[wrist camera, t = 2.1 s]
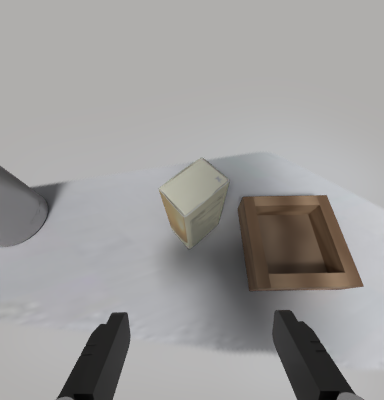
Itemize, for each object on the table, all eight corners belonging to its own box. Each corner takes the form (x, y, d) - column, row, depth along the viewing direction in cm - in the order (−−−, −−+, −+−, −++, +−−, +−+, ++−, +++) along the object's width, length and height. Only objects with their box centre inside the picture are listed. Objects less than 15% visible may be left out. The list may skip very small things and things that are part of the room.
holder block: (249, 291, 26) (258, 288, 22) (237, 209, 31) (243, 196, 28) (340, 289, 26) (363, 286, 22) (311, 207, 31) (326, 195, 28)
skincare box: (200, 205, 32) (203, 153, 21) (219, 224, 30) (233, 178, 20) (169, 230, 30) (155, 187, 19) (188, 251, 28) (184, 217, 18)
